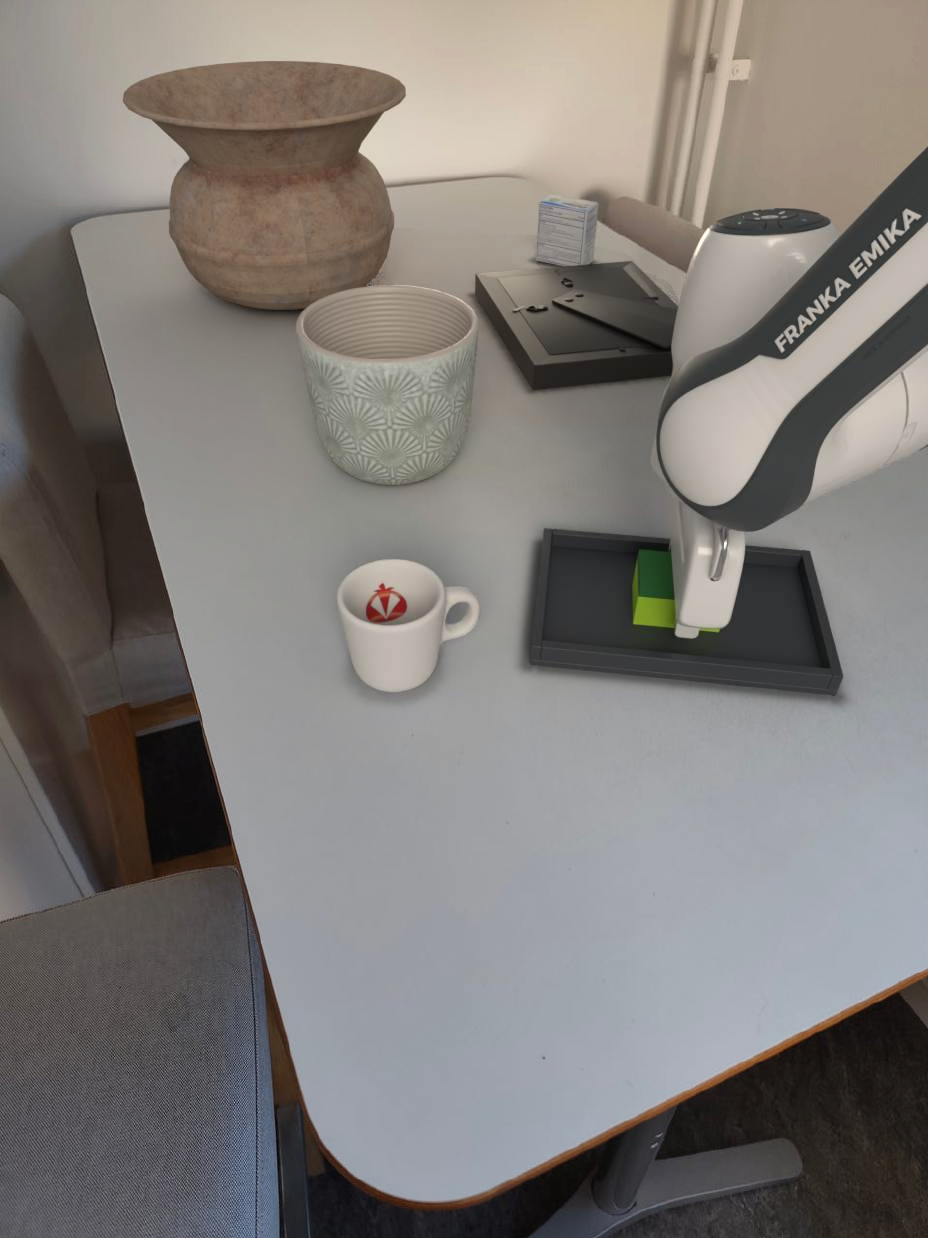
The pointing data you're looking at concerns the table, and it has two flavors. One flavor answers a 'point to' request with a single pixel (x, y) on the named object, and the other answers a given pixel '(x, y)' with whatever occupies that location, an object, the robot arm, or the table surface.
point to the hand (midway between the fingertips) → (681, 593)
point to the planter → (390, 379)
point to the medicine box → (566, 231)
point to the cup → (399, 621)
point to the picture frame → (581, 322)
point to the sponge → (654, 590)
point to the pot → (274, 176)
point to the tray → (609, 641)
